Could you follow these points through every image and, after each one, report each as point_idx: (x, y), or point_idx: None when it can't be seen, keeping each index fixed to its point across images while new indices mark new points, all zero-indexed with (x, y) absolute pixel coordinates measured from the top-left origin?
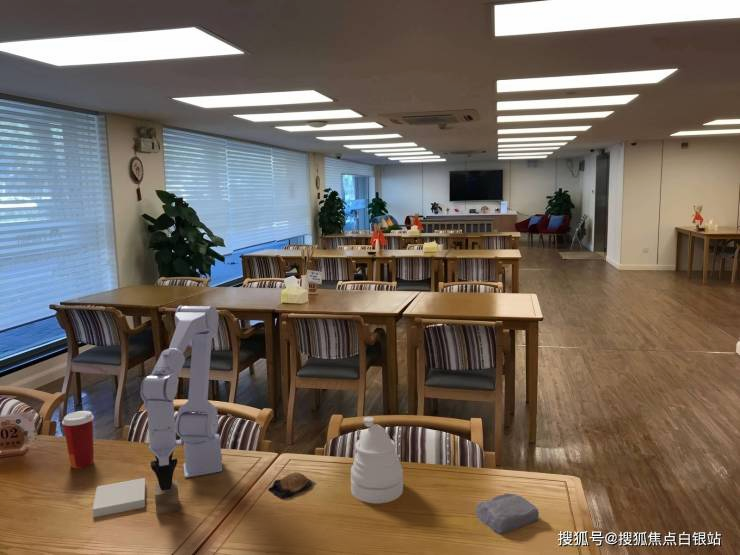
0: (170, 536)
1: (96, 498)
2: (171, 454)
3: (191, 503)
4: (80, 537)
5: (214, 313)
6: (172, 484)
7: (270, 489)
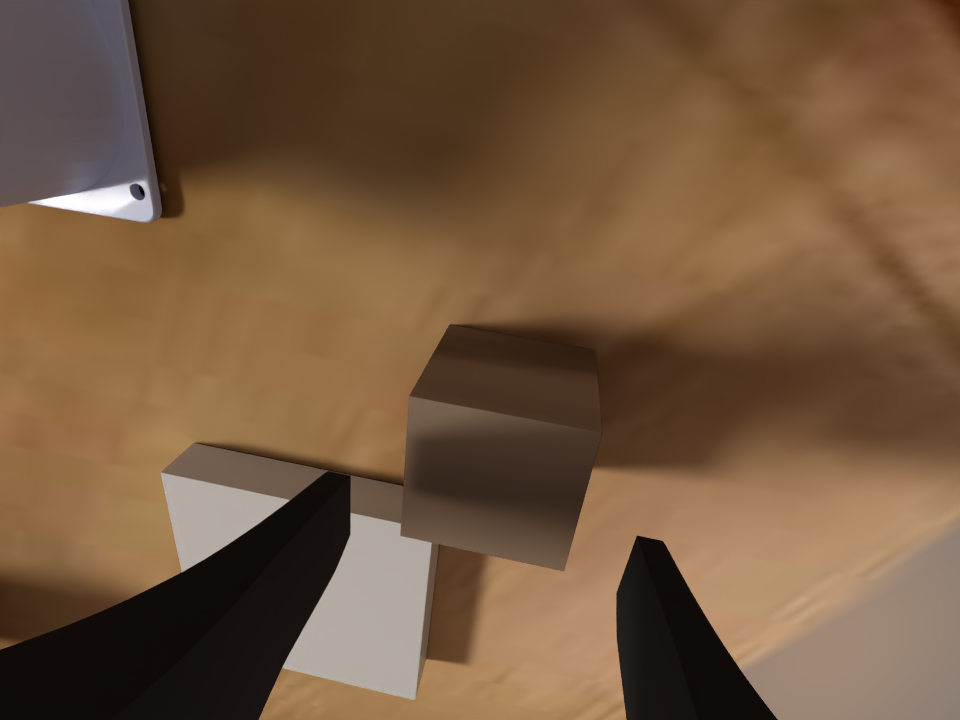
0: (875, 460)
1: (317, 671)
2: (226, 624)
3: (549, 258)
4: (563, 713)
5: None
6: (459, 441)
7: None
